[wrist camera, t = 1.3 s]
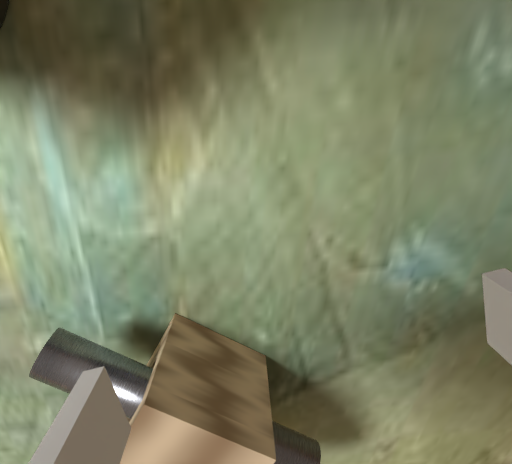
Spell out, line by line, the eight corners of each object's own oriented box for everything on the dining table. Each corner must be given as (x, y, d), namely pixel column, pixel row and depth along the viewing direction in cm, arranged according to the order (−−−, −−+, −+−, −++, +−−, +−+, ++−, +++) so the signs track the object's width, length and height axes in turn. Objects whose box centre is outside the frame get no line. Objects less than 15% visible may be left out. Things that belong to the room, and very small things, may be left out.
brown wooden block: (140, 376, 39) (95, 489, 27) (175, 313, 37) (144, 404, 25) (227, 414, 41) (222, 536, 29) (265, 355, 39) (276, 460, 27)
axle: (46, 358, 33) (22, 387, 29) (66, 319, 32) (44, 343, 28) (292, 463, 37) (300, 500, 33) (314, 429, 36) (325, 464, 32)
